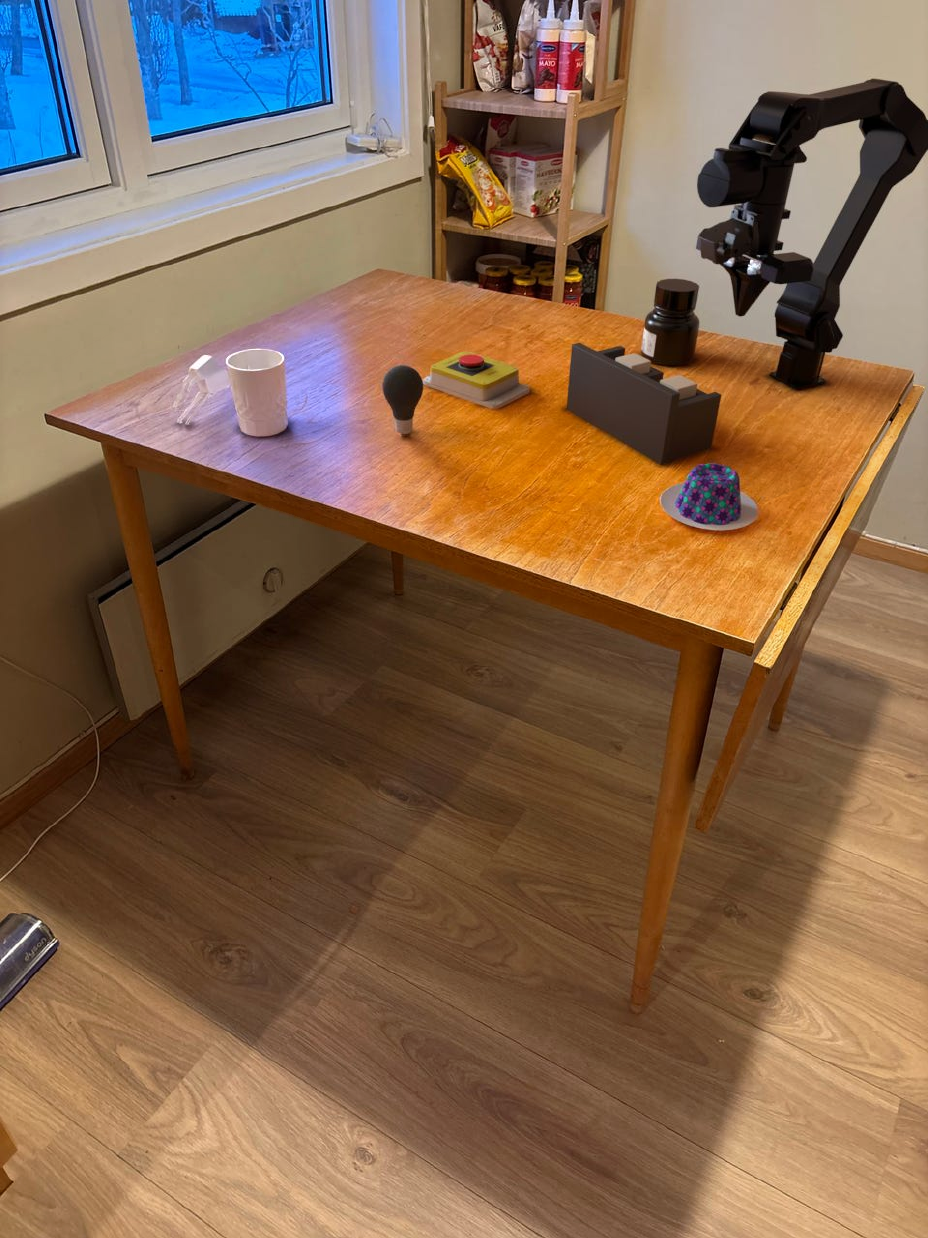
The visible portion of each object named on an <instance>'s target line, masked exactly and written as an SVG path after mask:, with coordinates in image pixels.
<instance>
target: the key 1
mask: <svg viewBox="0 0 928 1238" xmlns="http://www.w3.org/2000/svg"><path fill="white" fill-rule="evenodd" d="M615 361H617V362H619V363H621V364H623V365H625V366H627V367H629V368H631V369H633V370H635V371H637V372H639V373H641V374H645V373H648V372H649V371H650V366H651V363H652V362H651V361H650V360H648V359H646V358H644V357H642V355H640V354H638V353H635V352H633V353H629V354H625V356H621V357H617V358H616V359H615Z"/></svg>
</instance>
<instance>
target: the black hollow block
mask: <svg viewBox="0 0 928 1238" xmlns="http://www.w3.org/2000/svg"><path fill="white" fill-rule="evenodd" d="M570 351H571V352H570V362H569V363H570V364H569V376H568V385H567V396H566V408H565V409H566V411H568V412H570V413H572V414H573V415H575V416H577V417H579V418H580V419H582V420H584V421H585V422H587V423H589V424H591V425H592V426H594V427H596V428H597V429H599V430H600V431H602V432H604V433H606V434H608V435H609V436H611V437H613V438H614V439H616V440H618V441H619V442H621V443H623V444H625V445H626V446H628V447H630V448H631V449H633V450H634V451H637V452H638V453H640V454H642V455H643V456H645V457H646V458H648V459H650V460H652V461H653V462H655V463H657V464H659V465H660V466H662V465H666V464H668V463H671V462H675V461H678V460H680V459H684V458H687V457H690V456H693V455H696V454H699V453H702V452H705V451H708V450H711V449H712V447H713V441H714V435H715V431H716V426H717V421H718V415H719V410H720V405H721V400H722V394H721V393H719V392H717V391H712V392H709V393H707V394H706V395H702V396H699V397H696V398H692V399H689V400H685V401H682V402H679V396H680V393H679V392H677V391H675V390H673V389H671V388H669V387H667V386H665V385H663V384H661V383H659V382H657V381H655V380H653V379H651V378H649V377H647V376H645V375H643V374H641V373H639V372H637V371H635V370H633V369H631V368H629V367H627V366H625V365H623V364H621V363H619V362H617V361H615V359H616V358H617V357H621V356H625V355H626V347H624V346H621V345H618V346H614V347H609V348H605V349H601V350H598V351H597V350H595V349H593V348H591V347H589V346H587V345H585V344H583V343H581V342H576V343H573V344H571V350H570Z"/></svg>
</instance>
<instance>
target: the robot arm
mask: <svg viewBox="0 0 928 1238" xmlns="http://www.w3.org/2000/svg"><path fill="white" fill-rule="evenodd" d="M857 121H859V123H858V128H859V131H860V132H861V134H862V136H863V137H864V139H863V142H862V145H861V148H860V150H859V174H858V177H857V179H856V181H855V183H854V184H853V187H852V189H851V191H850V192H849V195H848V197H847V198H846V200H845V202H844V204H843V206H842V208H841V210H840V211H839V213H838V215H837V218H836V219H835V220H834V223H833V225H832V227H831V229H830V231H829V232H828V234H827V236H826V238H825V240H824V242H823V244H822V246H821V248H820V250H819V252H818V254H817V256H816V257H815V259H814V261H813V260H812V259H811V258H810V257H807V256H805V255H802V254H800V253H798V252H795V251H792V252H790V251H789V252H782V253H775V252H779V251H783V247H784V242H783V241H781V240H778V239H779V235H780V231H781V227H782V222H783V220H790V217H791V212H792V211H791V210H789V209H787V208H786V204H787V199H788V195H789V190H790V186H791V181H792V177H793V172H794V169H795V164H804V163H806V162H807V160H808V157H807V155H806V154H805V152H804V151H803V150H802V148H801V146H802V145H804V144H806V143H808V142H810V141H812V140H813V139H815V138H816V136H817V135H818V133H819V132H820V131H823V130H824V129H828V128H832V127H837V126H840V125H844V124H848V123H852V122H857ZM927 152H928V119H927V117H926V114H925V112H924V111H923V110H922V109H921V108H920V107H919V105H917V104H916V103H914V101H913V100H911V98H909V96H908V94H907V93H906V90H905V88H904V87H903V85H902V84H900V83H899V82H898V81H893V80H887V79H880V78H870V79H867V80H865V81H864V82H860V83H855V84H849V85H846V86H841V87H837V88H832V89H828V90H823V91H819V92H815V93H809V94H807V93H797V92H789V91H788V92H787V91H772V90H771V91H770V90H768V91H767V92H764V93H762V94H761V95H760V96H758V98H757V102H756V103H755V104H754V105H753V106H752V108H751V110H750V111H749V113H748V115H747V116H746V117H745V119H744V121H743V122H742V123H741V126H740V127H739V128H738V130H737V131H736V133H735V135H734V136H733V138H732V139H731V140H730V142H729V144H728V148H725V147H717V148H715V149H714V151H713V157H712V158H711V159H709V160H707V162H705V164H704V165H703V166H702V167H701V170H700V173H698V175H697V179H696V188H697V189H696V190H697V195H698V198H699V200H700V201H701V202H702V204H703V205H704V206H705V207H707V208H718V207H727V206H733V208H732V210H731V213H730V217H729V219H727V220H725V221H721V222H718V223H716V224H715V225H713V226H711V227H705V228H703V229H702V230H701V231H700V232H699V234H698V235H697V238H696V245H695V250H697V251H700V257H701V259H703V260H708V261H710V262H712V263H713V264H714V265H720V266H721V267H722V268H723V269H724V271H726V272H727V273H728V275H729V278H730V283H731V289H732V297H733V305H734V306H733V307H734V314H735V315H736V316H737V317H745V316H746V314H747V313H748V312H749V310H750V309H751V308H752V306H753V305H754V304H755V303H756V301H757V300H758V298H759V297H760V296H761V295H762V293H763V291H764V290H765V289H766V288H767V287H768V286H769V284H770V283H772V284H774V285H785V288H784V290H783V292H782V294H781V296H780V297H779V298H778V299H777V301H776V304H777V306H776V308H775V311H774V319H775V336H776V337H777V338H780V339H784V340H785V341H784V342H783V347H782V351H780V353H779V354H780V355H779V358H778V362H777V367H776V370H775V371H770V372H769V374H768V376H769V377H771V378H772V379H774V380H776V381H778V382H781V383H782V384H784V385H786V386H788V387H790V388H792V389H794V390H802V389H806V388H810V387H811V388H812V387H815V386H819V385H823V384H826V383H827V379H826V378H824V377H822V376H820V375H821V370H822V367H823V363H824V359H825V355H826V353H828V354H829V353H832V352H833V350H836V349H837V348H838V347H839V345H840V343H841V342H842V338H843V337H844V334H843V332H842V330H841V328H840V326H839V325H838V323H837V321H836V317H837V314H838V312H839V310H840V307H841V284H842V282H843V280H844V278H845V276H846V274H847V272H848V271H849V268H850V267H851V265H852V263H853V262H854V259H855V257H856V256H857V254H858V252H859V251H860V248H861V246H862V244H863V242H864V241H865V239H866V237H867V236H868V233H869V231H870V230H871V227H872V226H873V224H874V222H875V220H876V218H877V217H878V215H879V213H880V212H881V209H882V208H883V205H884V203H885V202H886V200H887V198H888V196H889V194H890V192H891V191H892V190H893V188H894V187H895V186H897V185H898V184H899V183H901V182H902V181H903V180H904V179H905V178H907V177H908V176H909V175H911V174H912V173H914V171H915V170H916V168H917V167H918V165H919V164H920V162H921V160H922V159H923V158H924V157H925V155H926V153H927Z"/></svg>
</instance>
